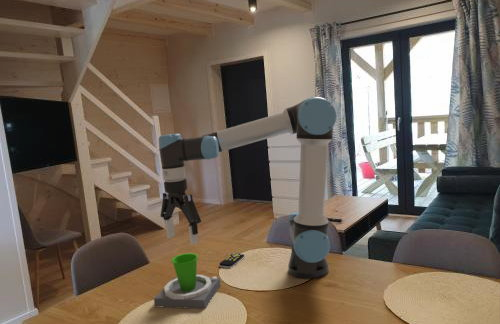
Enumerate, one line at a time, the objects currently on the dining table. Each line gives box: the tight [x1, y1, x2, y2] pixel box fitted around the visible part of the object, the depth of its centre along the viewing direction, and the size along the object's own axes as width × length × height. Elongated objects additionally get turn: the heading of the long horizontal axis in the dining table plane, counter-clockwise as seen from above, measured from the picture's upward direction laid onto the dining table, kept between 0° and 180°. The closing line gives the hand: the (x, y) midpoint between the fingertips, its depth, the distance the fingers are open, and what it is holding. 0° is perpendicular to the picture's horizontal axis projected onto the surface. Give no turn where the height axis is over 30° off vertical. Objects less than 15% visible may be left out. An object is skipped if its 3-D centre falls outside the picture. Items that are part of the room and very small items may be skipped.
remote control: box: [219, 252, 245, 269], centre depth 156 cm, size 6×13×2 cm, turn 153°
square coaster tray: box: [153, 274, 221, 310], centre depth 129 cm, size 18×16×4 cm
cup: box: [171, 252, 199, 291], centre depth 128 cm, size 9×9×11 cm
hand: (182, 240), depth 126 cm, fingers open, 13 cm apart
